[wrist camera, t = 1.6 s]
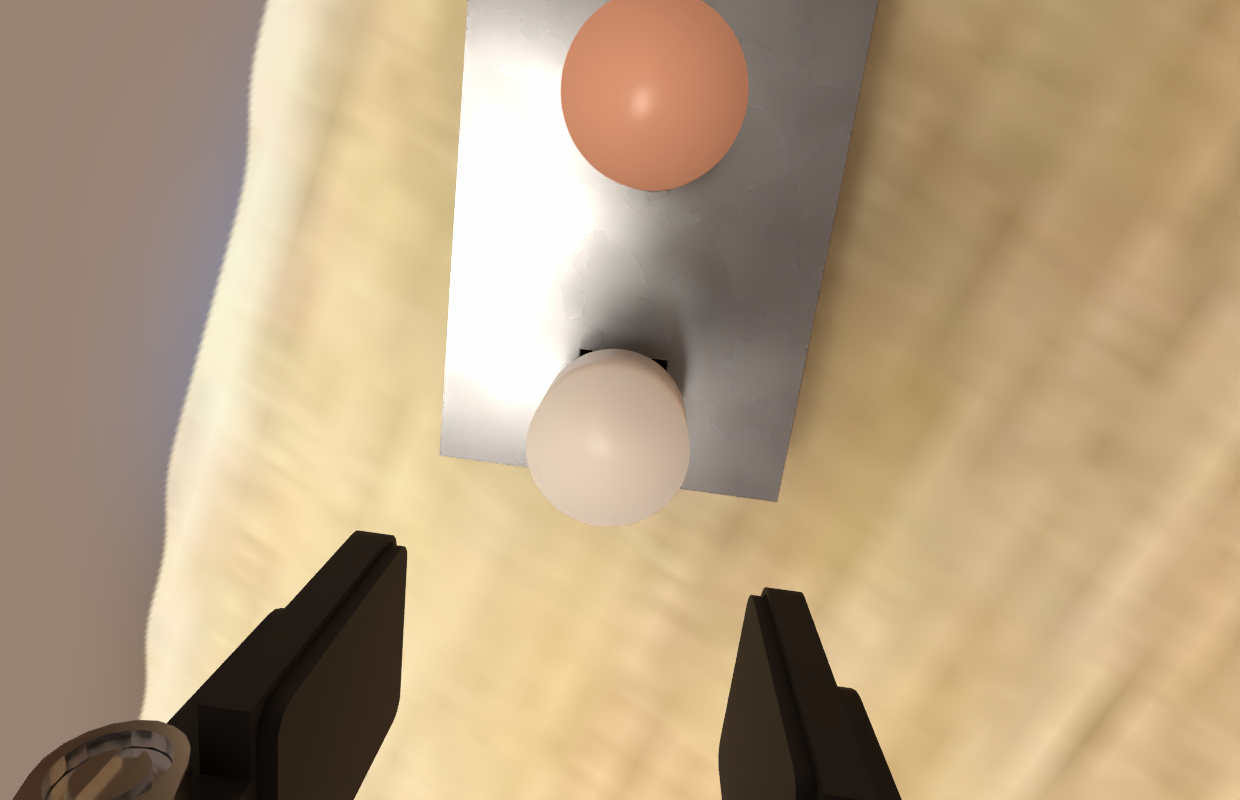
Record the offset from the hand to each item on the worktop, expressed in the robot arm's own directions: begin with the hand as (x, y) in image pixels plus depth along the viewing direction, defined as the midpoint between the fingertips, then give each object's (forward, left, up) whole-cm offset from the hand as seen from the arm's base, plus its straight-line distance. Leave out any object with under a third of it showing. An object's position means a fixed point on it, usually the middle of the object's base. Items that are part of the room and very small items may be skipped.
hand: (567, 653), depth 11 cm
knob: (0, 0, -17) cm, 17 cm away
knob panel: (-9, 0, -19) cm, 21 cm away
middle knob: (-9, 0, -17) cm, 19 cm away
